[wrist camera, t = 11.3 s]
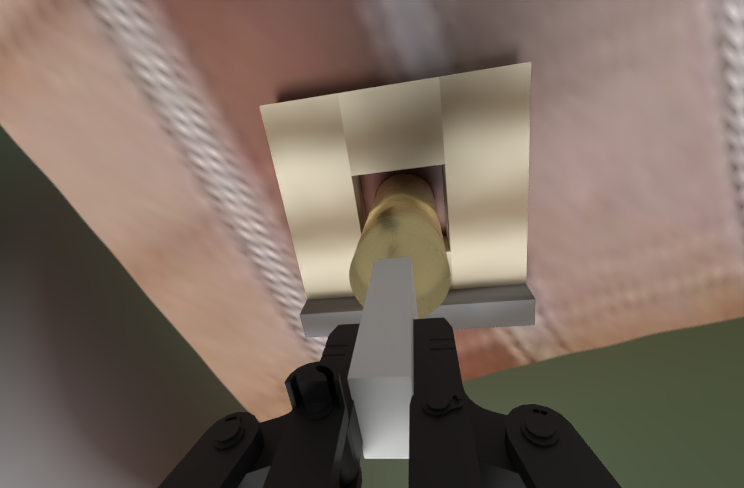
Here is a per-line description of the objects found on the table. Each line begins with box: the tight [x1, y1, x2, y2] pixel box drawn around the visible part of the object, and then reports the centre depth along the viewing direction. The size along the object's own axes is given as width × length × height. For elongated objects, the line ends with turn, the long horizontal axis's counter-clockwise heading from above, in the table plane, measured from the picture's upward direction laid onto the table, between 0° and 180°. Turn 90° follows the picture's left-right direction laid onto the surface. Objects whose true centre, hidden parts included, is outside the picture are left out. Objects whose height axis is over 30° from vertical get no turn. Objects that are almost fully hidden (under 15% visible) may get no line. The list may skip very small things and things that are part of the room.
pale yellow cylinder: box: [349, 173, 451, 319], centre depth 21 cm, size 4×4×12 cm
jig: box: [260, 62, 535, 338], centre depth 24 cm, size 16×16×5 cm
